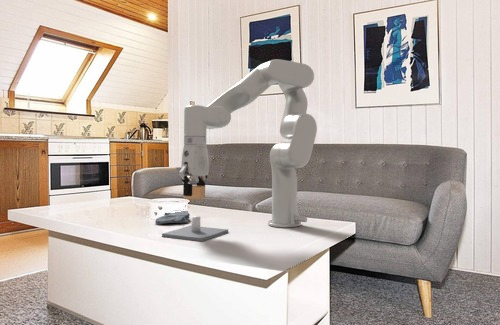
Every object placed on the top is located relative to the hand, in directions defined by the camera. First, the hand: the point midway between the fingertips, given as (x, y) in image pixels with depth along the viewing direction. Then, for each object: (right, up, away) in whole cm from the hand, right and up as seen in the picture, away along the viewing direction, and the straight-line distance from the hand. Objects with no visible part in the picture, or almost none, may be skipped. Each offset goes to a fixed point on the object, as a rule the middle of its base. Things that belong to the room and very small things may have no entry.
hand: (194, 194), depth 136 cm
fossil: (-11, -14, +26) cm, 31 cm away
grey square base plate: (0, -14, +1) cm, 14 cm away
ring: (0, -1, 0) cm, 1 cm away
